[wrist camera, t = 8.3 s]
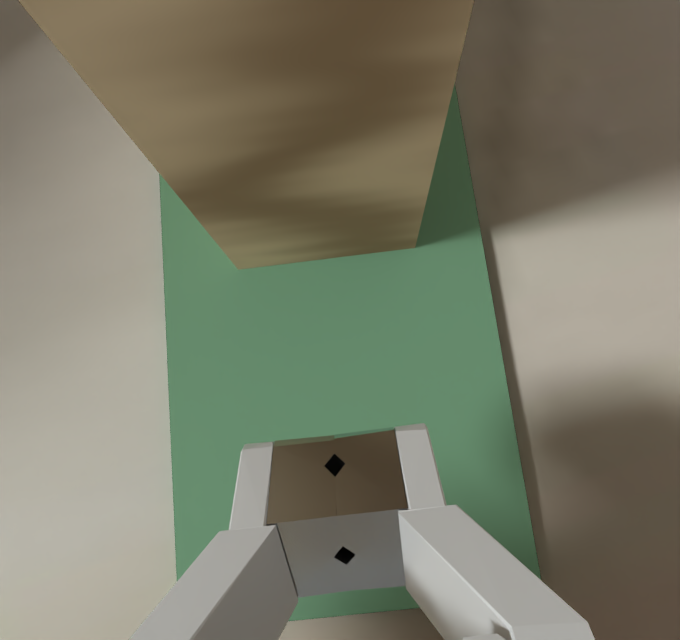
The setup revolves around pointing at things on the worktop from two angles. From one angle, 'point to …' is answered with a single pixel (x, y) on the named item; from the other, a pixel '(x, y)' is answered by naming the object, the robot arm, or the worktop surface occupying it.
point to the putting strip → (342, 367)
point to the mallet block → (277, 111)
